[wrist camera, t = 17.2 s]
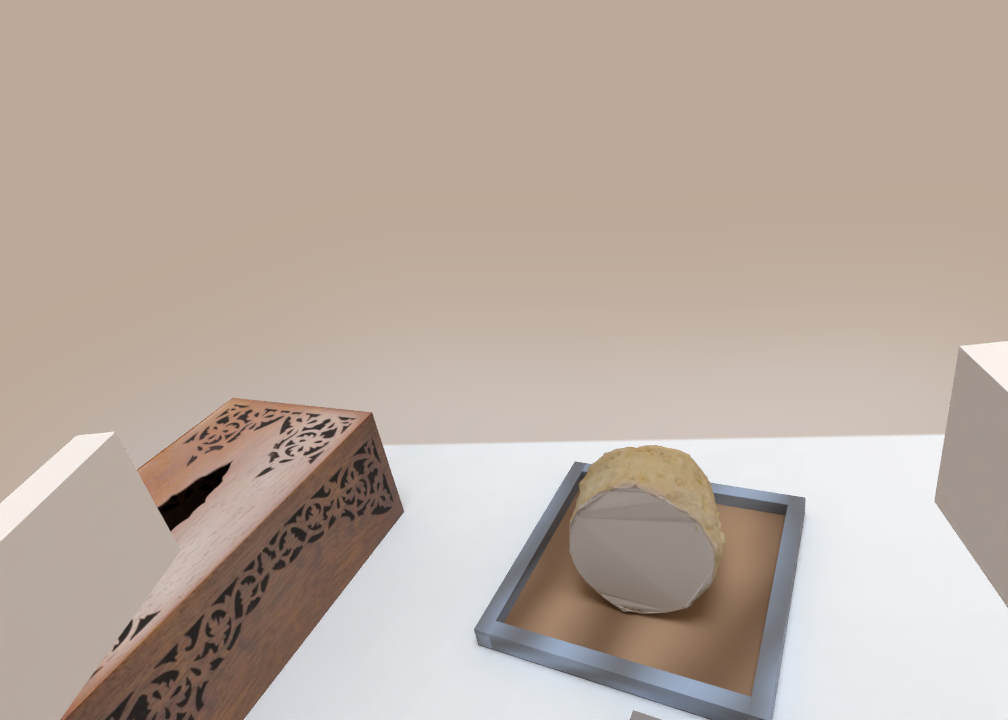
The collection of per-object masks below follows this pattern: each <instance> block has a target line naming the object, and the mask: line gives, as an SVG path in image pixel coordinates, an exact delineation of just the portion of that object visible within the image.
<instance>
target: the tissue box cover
mask: <svg viewBox="0 0 1008 720" xmlns="http://www.w3.org/2000/svg"><path fill="white" fill-rule="evenodd" d="M137 472H138V473H139V475H140V477H141V479H142V481H143V483H144V484H145V486H146V488H147V490H148V492H149V493H150V495H151V497H152V499H153V501H154V503H155V504H156V506H157V508H158V510H159V512H160V514H161V515H162V517H163V519H164V521H165V523H166V524H167V526H168V528H169V530H170V532H171V534H172V535H173V537H174V539H175V541H176V543H177V544H178V546H179V548H180V550H181V551H180V552H179V553H178V555H177V556H176V558H175V559H174V560H173V562H172V563H171V565H170V566H169V568H168V569H167V570H166V572H165V573H164V575H163V576H162V577H161V579H160V580H159V582H158V583H157V584H156V586H155V587H154V589H153V590H152V591H151V593H150V594H149V596H148V597H147V598H146V600H145V601H144V603H143V604H142V605H141V607H140V608H139V610H138V611H137V612H136V614H135V615H134V617H133V618H132V620H131V621H130V622H129V624H128V625H127V627H126V628H125V629H124V631H123V632H122V634H121V635H120V636H119V638H118V639H117V641H116V642H115V643H114V645H113V646H112V648H111V649H110V650H109V652H108V653H107V655H106V656H105V657H104V659H103V660H102V662H101V663H100V665H99V666H98V667H97V669H96V670H95V672H94V673H93V674H92V676H91V677H90V679H89V680H88V681H87V683H86V684H85V686H84V687H83V688H82V690H81V691H80V693H79V694H78V695H77V697H76V698H75V700H74V701H73V702H72V704H71V705H70V707H69V708H68V709H67V711H66V712H65V714H64V715H63V717H62V718H61V719H60V720H243V719H244V718H245V717H246V716H247V714H248V713H249V712H250V710H251V709H252V708H253V706H254V705H255V704H256V703H257V701H258V700H259V699H260V697H261V696H262V695H263V694H264V692H265V691H266V690H267V688H268V687H269V686H270V684H271V683H272V682H273V681H274V679H275V678H276V677H277V675H278V674H279V673H280V672H281V670H282V669H283V668H284V666H285V665H286V664H287V662H288V661H289V660H290V659H291V657H292V656H293V655H294V653H295V652H296V651H297V650H298V648H299V647H300V646H301V644H302V643H303V642H304V640H305V639H306V638H307V637H308V635H309V634H310V633H311V631H312V630H313V629H314V628H315V626H316V625H317V624H318V622H319V621H320V620H321V618H322V617H323V616H324V615H325V613H326V612H327V611H328V609H329V608H330V607H331V606H332V604H333V603H334V602H335V600H336V599H337V598H338V596H339V595H340V594H341V593H342V591H343V590H344V589H345V587H346V586H347V585H348V584H349V582H350V581H351V580H352V578H353V577H354V576H355V574H356V573H357V572H358V571H359V569H360V568H361V567H362V565H363V564H364V563H365V562H366V560H367V559H368V558H369V556H370V555H371V554H372V552H373V551H374V550H375V549H376V547H377V546H378V545H379V543H380V542H381V541H382V540H383V538H384V537H385V536H386V534H387V533H388V532H389V530H390V529H391V528H392V527H393V525H394V524H395V523H396V521H397V520H398V519H399V518H400V516H401V515H402V514H403V512H404V510H403V507H402V504H401V501H400V498H399V495H398V491H397V488H396V485H395V482H394V479H393V476H392V473H391V470H390V467H389V464H388V460H387V457H386V454H385V451H384V448H383V445H382V442H381V439H380V436H379V433H378V430H377V427H376V424H375V420H374V417H373V414H372V412H362V411H353V410H343V409H333V408H324V407H315V406H305V405H296V404H285V403H277V402H267V401H258V400H248V399H239V398H232V399H231V400H229V401H228V402H227V403H225V404H224V405H223V406H221V407H220V408H219V409H217V410H216V411H215V412H213V413H212V414H211V415H209V416H208V417H207V418H205V419H204V420H203V421H201V422H200V423H199V424H198V425H196V426H195V427H193V428H192V429H191V430H189V431H188V432H187V433H185V434H184V435H183V436H182V437H180V438H179V439H177V440H176V441H175V442H174V443H172V444H171V445H170V446H168V447H167V448H165V449H164V450H163V451H161V452H160V453H159V454H157V455H156V456H155V457H153V458H152V459H151V460H149V461H148V462H147V463H145V464H144V465H143V466H142V467H140V468H139V469H138V470H137Z"/></svg>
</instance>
